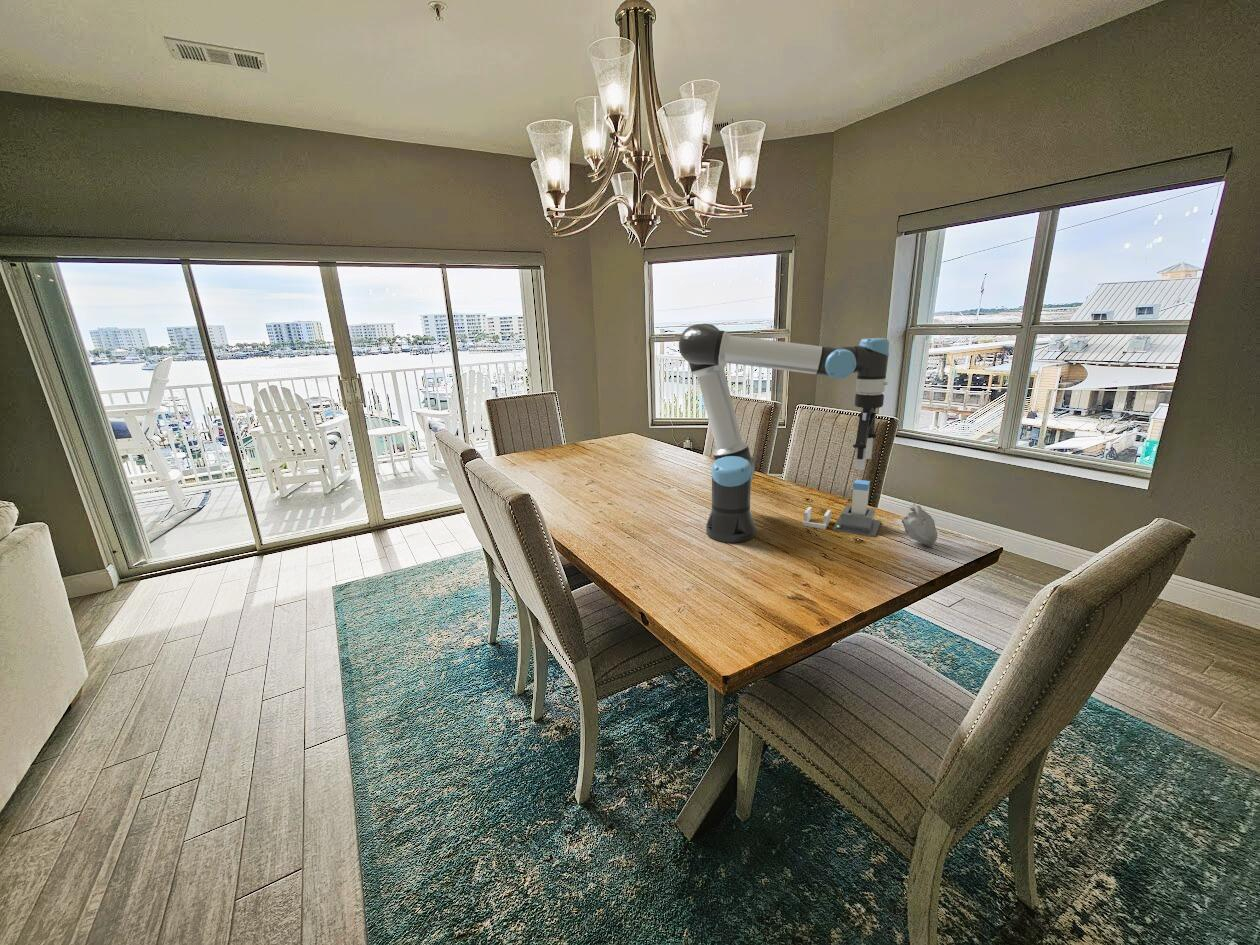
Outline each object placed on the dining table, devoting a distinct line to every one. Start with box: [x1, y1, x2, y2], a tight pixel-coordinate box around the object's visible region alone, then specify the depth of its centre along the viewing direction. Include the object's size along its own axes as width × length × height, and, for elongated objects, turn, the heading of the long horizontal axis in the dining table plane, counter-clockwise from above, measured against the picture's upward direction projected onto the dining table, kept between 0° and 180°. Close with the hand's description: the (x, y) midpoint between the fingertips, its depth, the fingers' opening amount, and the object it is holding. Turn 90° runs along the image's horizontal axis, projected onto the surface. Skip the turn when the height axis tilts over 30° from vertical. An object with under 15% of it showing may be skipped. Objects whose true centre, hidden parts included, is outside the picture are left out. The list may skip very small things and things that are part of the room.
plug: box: [851, 479, 871, 515], centre depth 149 cm, size 4×4×14 cm
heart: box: [901, 503, 938, 548], centre depth 135 cm, size 10×10×12 cm
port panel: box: [832, 504, 882, 538], centre depth 150 cm, size 12×13×5 cm
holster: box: [801, 506, 832, 530], centre depth 154 cm, size 7×7×4 cm
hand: (862, 463), depth 145 cm, fingers open, 13 cm apart
